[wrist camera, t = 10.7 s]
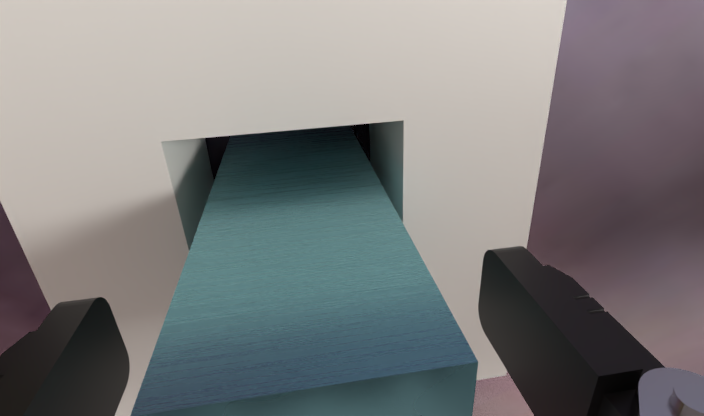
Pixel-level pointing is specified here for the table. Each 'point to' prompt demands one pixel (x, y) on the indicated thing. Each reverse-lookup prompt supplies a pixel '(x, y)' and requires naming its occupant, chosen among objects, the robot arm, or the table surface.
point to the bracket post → (305, 296)
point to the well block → (263, 131)
